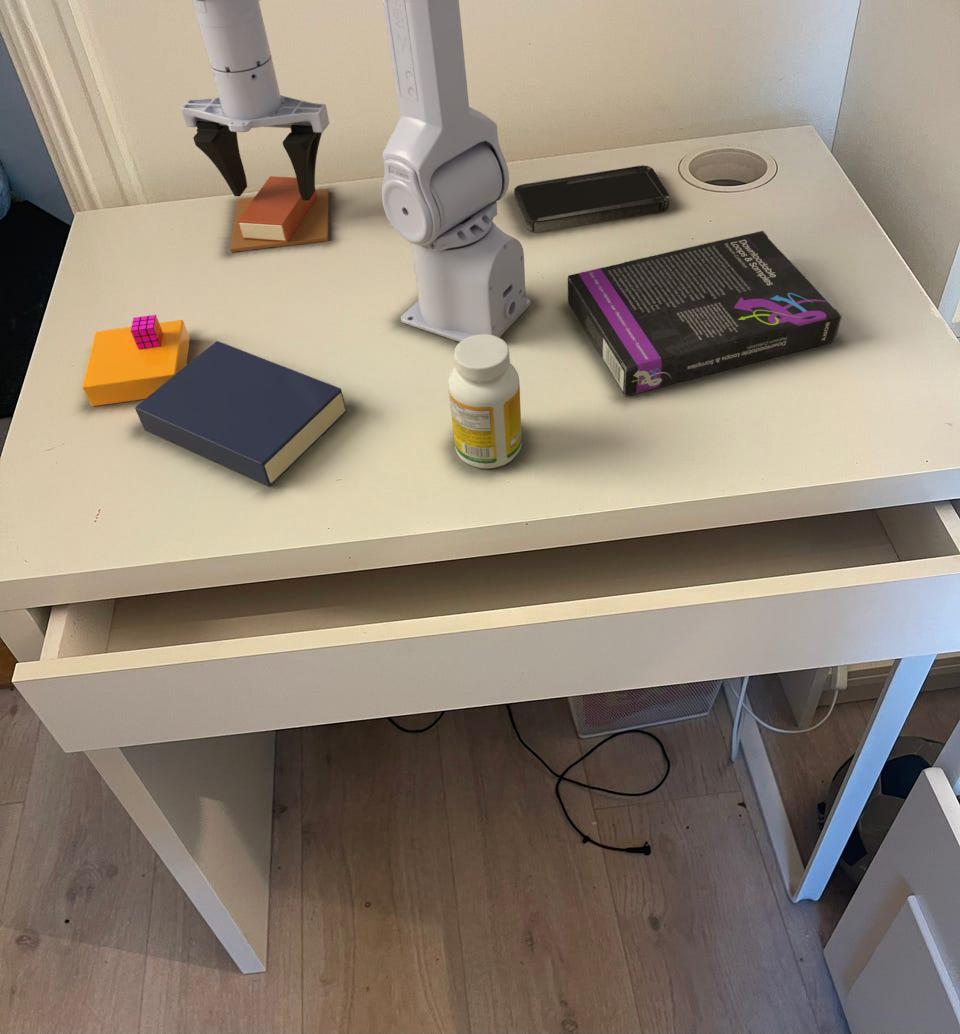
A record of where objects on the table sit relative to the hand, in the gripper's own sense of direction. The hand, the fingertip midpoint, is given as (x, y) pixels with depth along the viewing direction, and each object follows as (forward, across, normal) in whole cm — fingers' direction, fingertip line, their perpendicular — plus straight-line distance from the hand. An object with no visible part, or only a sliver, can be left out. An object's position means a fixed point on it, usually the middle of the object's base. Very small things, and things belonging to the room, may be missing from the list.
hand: (274, 193), depth 99 cm
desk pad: (+3, 0, 0) cm, 3 cm away
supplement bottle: (+3, +30, -30) cm, 43 cm away
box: (+3, +44, -12) cm, 46 cm away
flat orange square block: (+3, -4, -26) cm, 26 cm away
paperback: (+3, 0, 0) cm, 3 cm away
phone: (+3, +32, +7) cm, 33 cm away
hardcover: (+3, +9, -30) cm, 32 cm away
